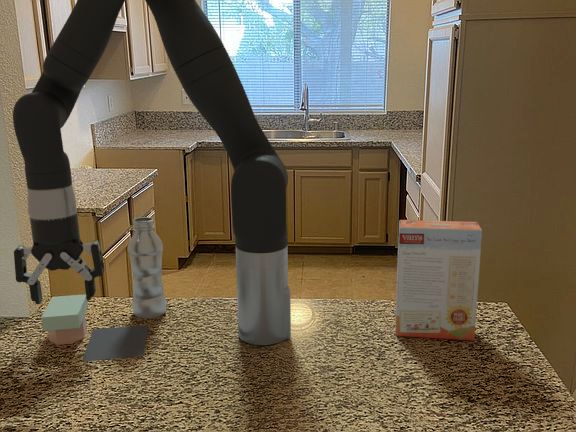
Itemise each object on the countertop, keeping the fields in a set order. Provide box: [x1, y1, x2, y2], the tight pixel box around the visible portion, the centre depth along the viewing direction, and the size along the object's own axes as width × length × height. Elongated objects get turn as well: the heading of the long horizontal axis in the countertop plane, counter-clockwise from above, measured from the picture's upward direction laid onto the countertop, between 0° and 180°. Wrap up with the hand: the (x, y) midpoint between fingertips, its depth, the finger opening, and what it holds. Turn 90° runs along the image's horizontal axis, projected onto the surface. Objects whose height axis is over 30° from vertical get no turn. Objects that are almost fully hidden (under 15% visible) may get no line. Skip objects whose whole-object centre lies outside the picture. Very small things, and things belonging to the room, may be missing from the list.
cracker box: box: [395, 219, 483, 342], centre depth 102 cm, size 14×6×21 cm, turn 80°
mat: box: [81, 324, 149, 363], centre depth 100 cm, size 10×12×1 cm
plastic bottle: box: [127, 216, 168, 320], centre depth 109 cm, size 6×7×20 cm
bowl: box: [47, 315, 88, 346], centre depth 102 cm, size 6×6×4 cm
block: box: [40, 293, 89, 332], centre depth 101 cm, size 6×9×2 cm, turn 10°
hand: (64, 300), depth 100 cm, fingers open, 8 cm apart
